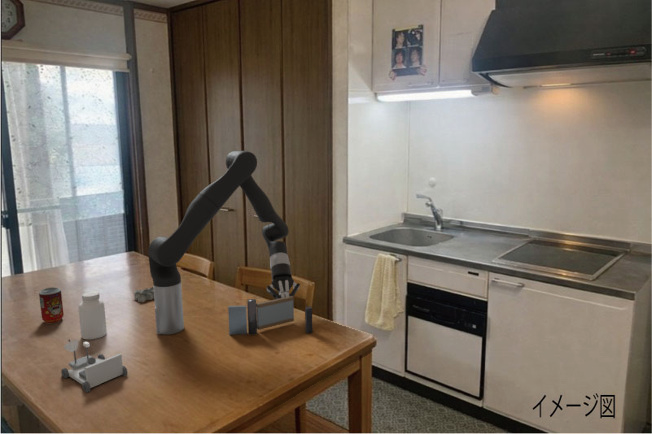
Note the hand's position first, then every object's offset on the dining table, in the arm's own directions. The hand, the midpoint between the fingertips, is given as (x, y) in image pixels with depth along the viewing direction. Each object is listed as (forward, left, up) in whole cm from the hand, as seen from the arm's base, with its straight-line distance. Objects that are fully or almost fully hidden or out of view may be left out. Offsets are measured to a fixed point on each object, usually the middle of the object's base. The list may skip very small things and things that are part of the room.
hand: (286, 308), depth 172 cm
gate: (-5, -3, -4) cm, 7 cm away
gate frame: (-8, -7, -5) cm, 11 cm away
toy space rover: (-63, -17, -6) cm, 65 cm away
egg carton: (-49, +46, -6) cm, 67 cm away
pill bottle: (-65, +12, -6) cm, 67 cm away
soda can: (-81, +31, -6) cm, 87 cm away
